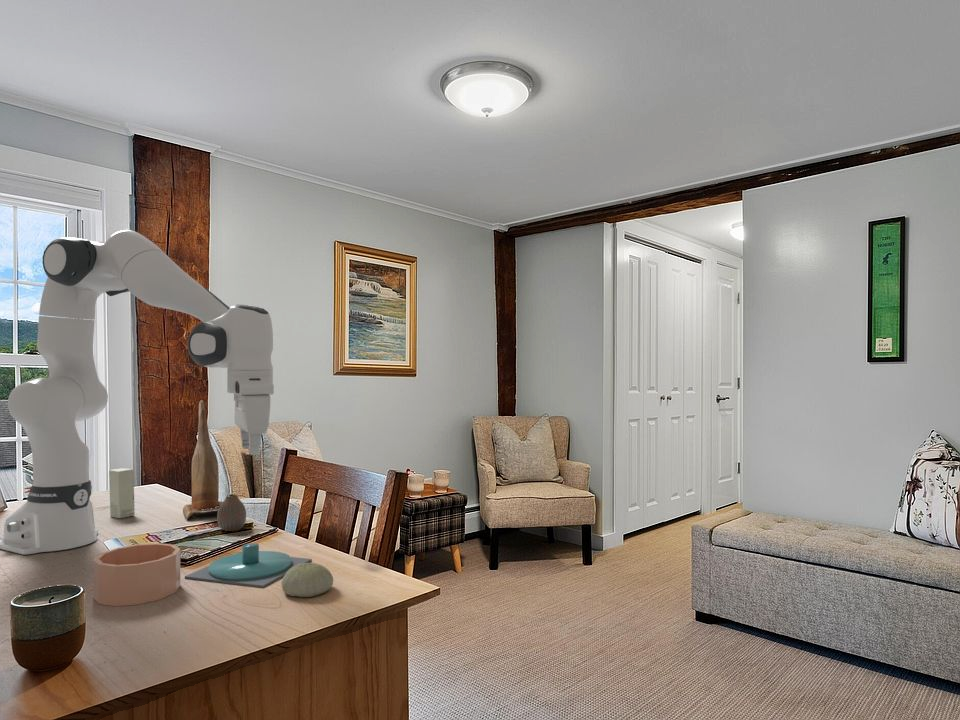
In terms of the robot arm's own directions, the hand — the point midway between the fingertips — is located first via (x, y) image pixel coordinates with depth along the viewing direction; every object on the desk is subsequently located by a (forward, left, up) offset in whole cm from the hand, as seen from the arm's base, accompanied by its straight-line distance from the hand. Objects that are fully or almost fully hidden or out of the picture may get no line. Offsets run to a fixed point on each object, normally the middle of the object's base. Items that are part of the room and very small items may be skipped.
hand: (250, 451), depth 134 cm
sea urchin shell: (+18, -7, -25) cm, 31 cm away
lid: (0, 0, -24) cm, 24 cm away
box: (-62, +28, -24) cm, 72 cm away
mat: (0, 0, -24) cm, 24 cm away
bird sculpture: (-41, +37, -25) cm, 60 cm away
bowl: (-12, -17, -24) cm, 32 cm away
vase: (-24, +25, -25) cm, 42 cm away
